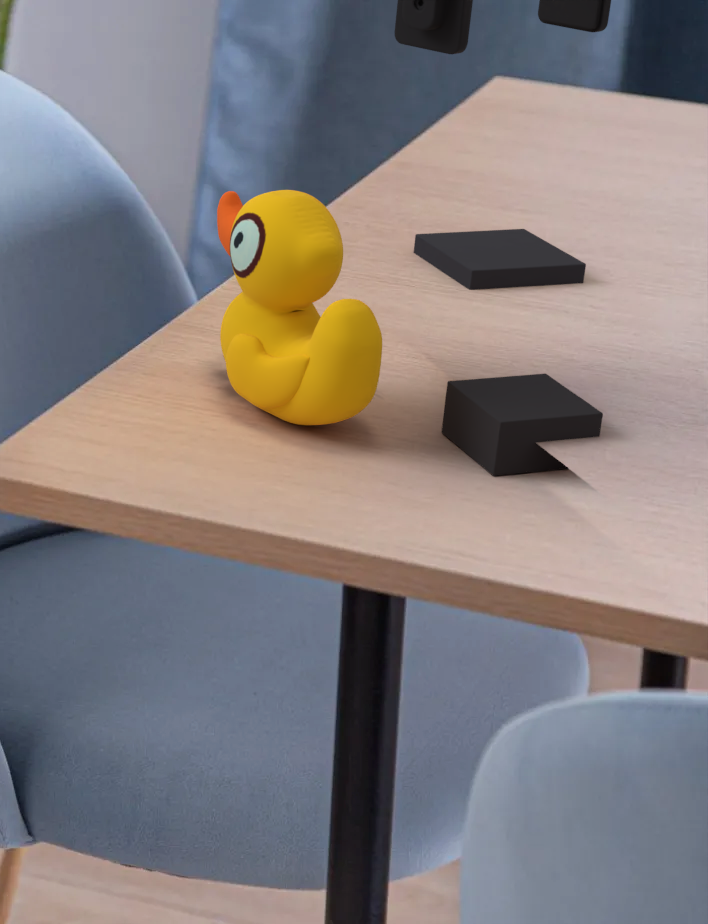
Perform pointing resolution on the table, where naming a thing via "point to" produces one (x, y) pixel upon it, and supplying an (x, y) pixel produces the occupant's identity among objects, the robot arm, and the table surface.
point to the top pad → (515, 421)
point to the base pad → (498, 259)
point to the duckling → (294, 312)
